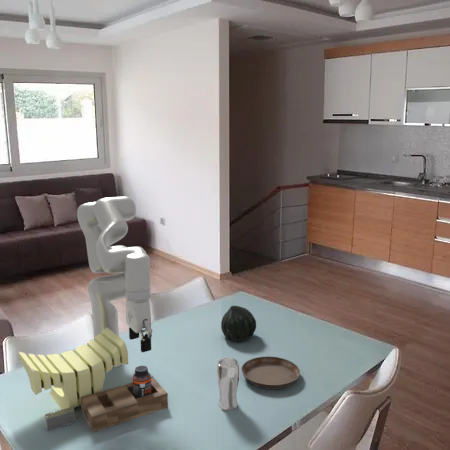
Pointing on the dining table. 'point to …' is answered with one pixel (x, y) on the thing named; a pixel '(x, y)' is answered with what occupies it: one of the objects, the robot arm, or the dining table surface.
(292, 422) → the dining table surface
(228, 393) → the beer glass
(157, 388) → the socket block
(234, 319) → the squash
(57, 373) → the slatted curved stool
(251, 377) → the plant saucer
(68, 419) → the grey stone block
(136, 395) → the supplement bottle
